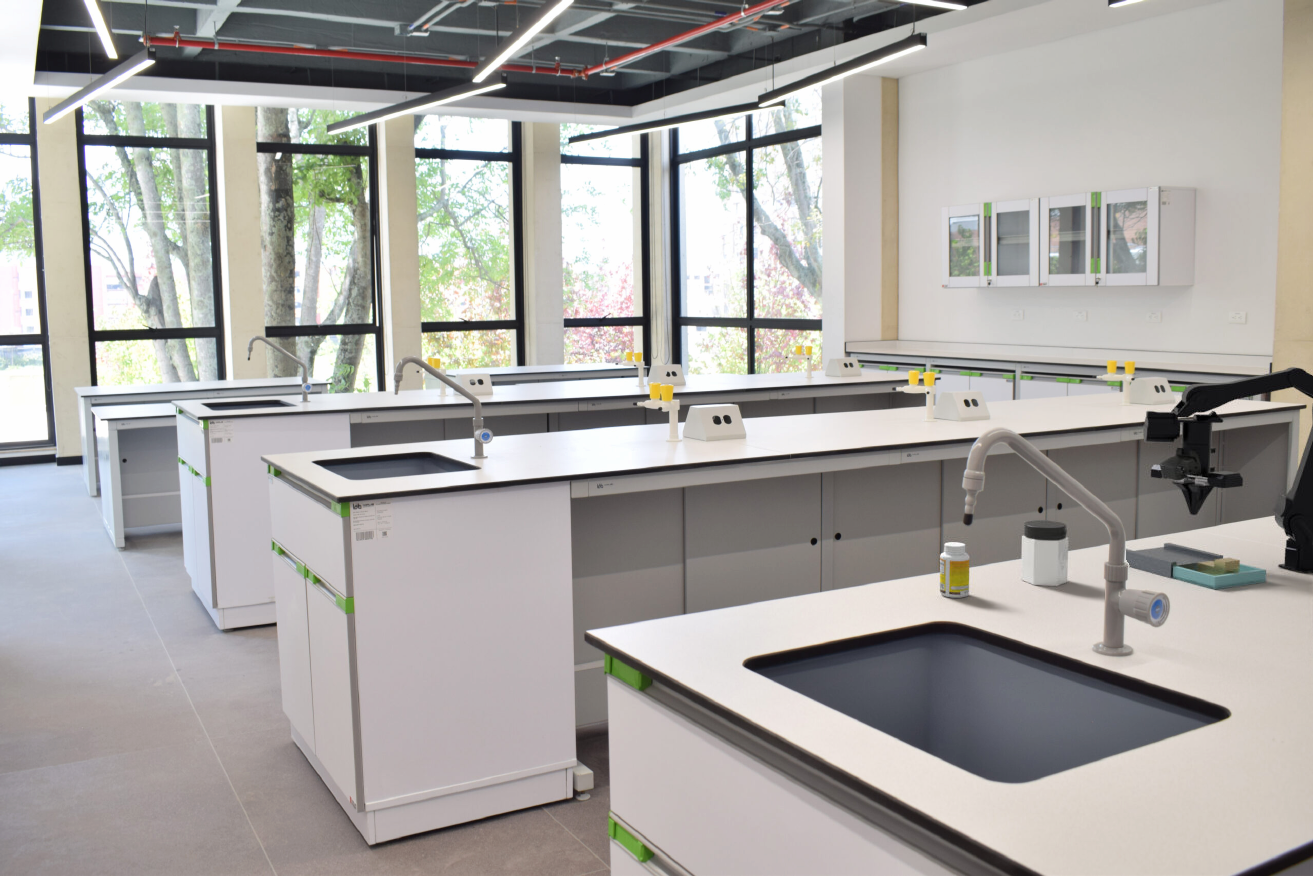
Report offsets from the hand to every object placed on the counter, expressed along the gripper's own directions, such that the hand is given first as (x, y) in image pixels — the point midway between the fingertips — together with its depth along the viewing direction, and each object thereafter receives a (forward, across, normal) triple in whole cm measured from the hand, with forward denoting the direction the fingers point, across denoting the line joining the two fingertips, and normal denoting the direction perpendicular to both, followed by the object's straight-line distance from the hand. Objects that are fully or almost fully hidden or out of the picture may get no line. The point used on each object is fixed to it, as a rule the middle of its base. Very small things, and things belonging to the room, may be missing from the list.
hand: (1193, 514), depth 226 cm
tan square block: (+10, +11, -7) cm, 17 cm away
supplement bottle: (+11, -3, -61) cm, 62 cm away
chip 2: (+8, +13, -7) cm, 17 cm away
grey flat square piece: (+11, 0, -6) cm, 13 cm away
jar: (+11, -3, -38) cm, 40 cm away
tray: (+11, +12, -7) cm, 18 cm away
